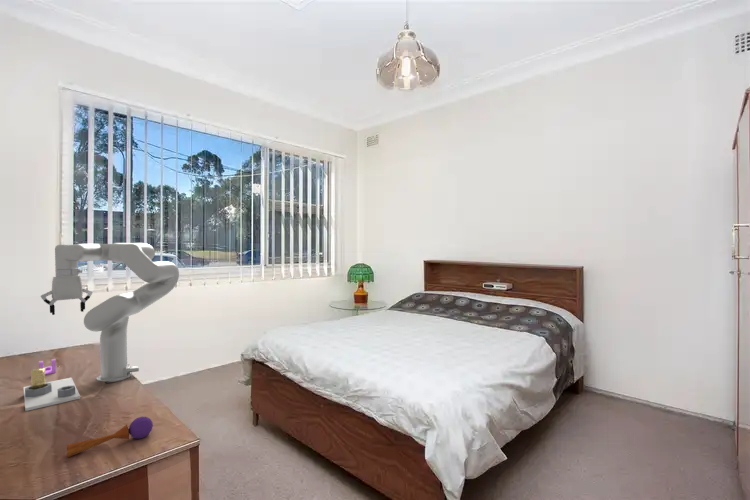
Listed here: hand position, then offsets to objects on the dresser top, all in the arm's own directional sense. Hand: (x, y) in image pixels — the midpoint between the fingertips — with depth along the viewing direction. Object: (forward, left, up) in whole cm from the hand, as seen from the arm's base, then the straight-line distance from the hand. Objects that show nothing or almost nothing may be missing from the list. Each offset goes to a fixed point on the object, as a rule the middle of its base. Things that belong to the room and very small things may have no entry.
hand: (67, 312), depth 162 cm
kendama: (-31, +73, -29) cm, 84 cm away
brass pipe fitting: (+4, +19, -27) cm, 33 cm away
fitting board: (0, +19, -28) cm, 34 cm away
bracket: (+12, -13, -29) cm, 34 cm away
